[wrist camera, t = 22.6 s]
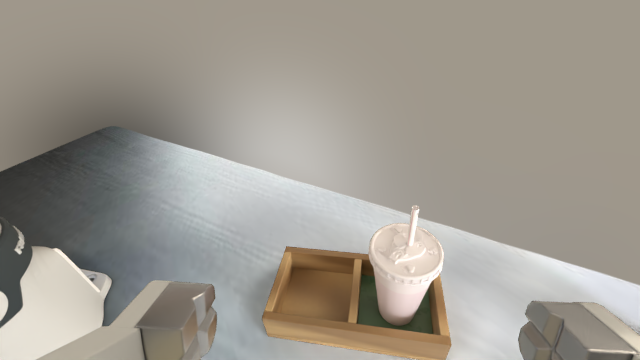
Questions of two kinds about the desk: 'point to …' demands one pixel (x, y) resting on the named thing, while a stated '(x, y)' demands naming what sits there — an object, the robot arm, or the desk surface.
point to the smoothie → (403, 267)
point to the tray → (349, 307)
